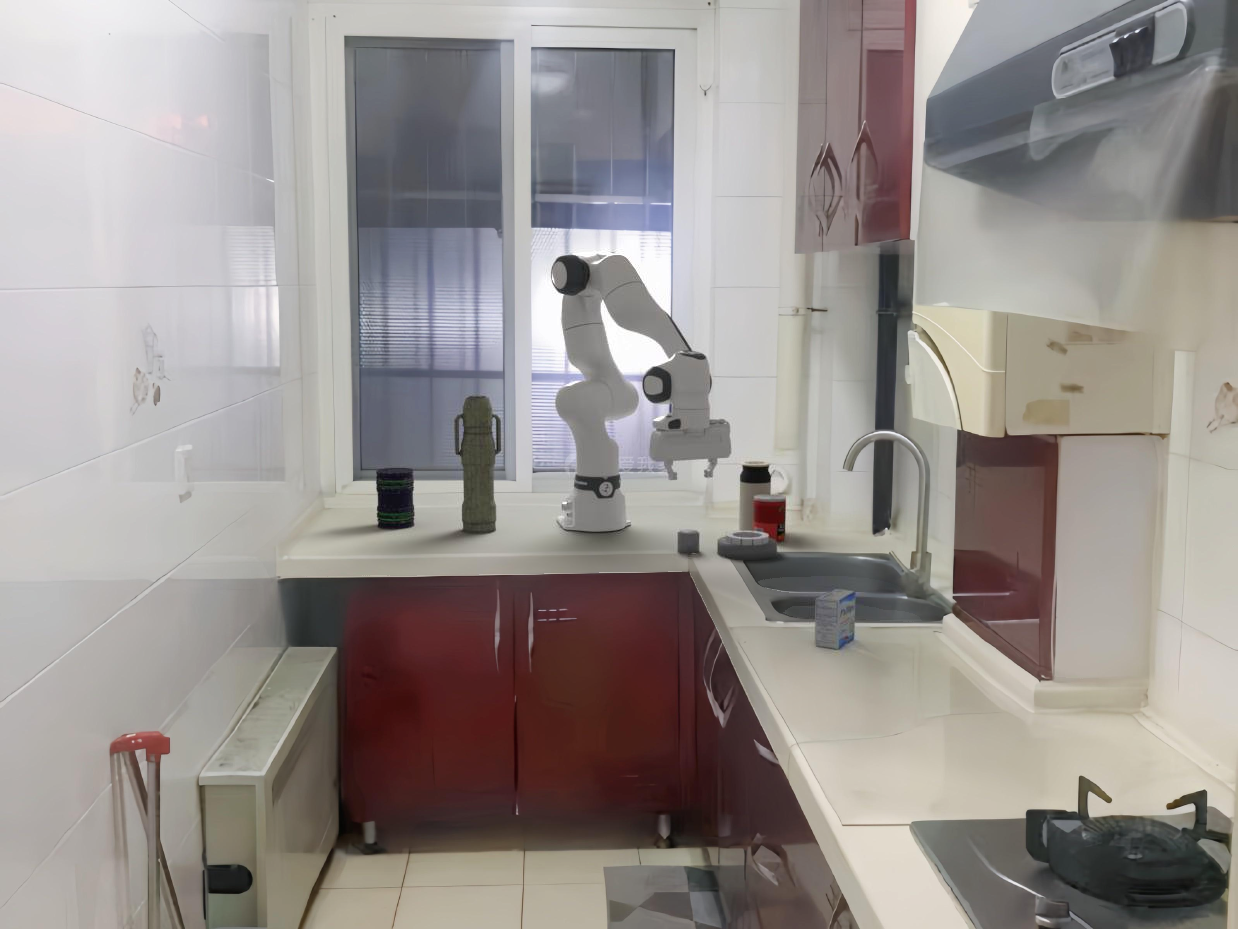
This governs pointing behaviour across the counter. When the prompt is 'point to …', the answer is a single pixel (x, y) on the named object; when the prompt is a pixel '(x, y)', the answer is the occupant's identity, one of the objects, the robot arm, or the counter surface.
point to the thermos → (478, 463)
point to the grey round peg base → (747, 545)
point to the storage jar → (395, 498)
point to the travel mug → (752, 490)
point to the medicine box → (835, 618)
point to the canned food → (770, 515)
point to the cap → (688, 541)
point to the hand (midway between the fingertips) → (690, 478)
